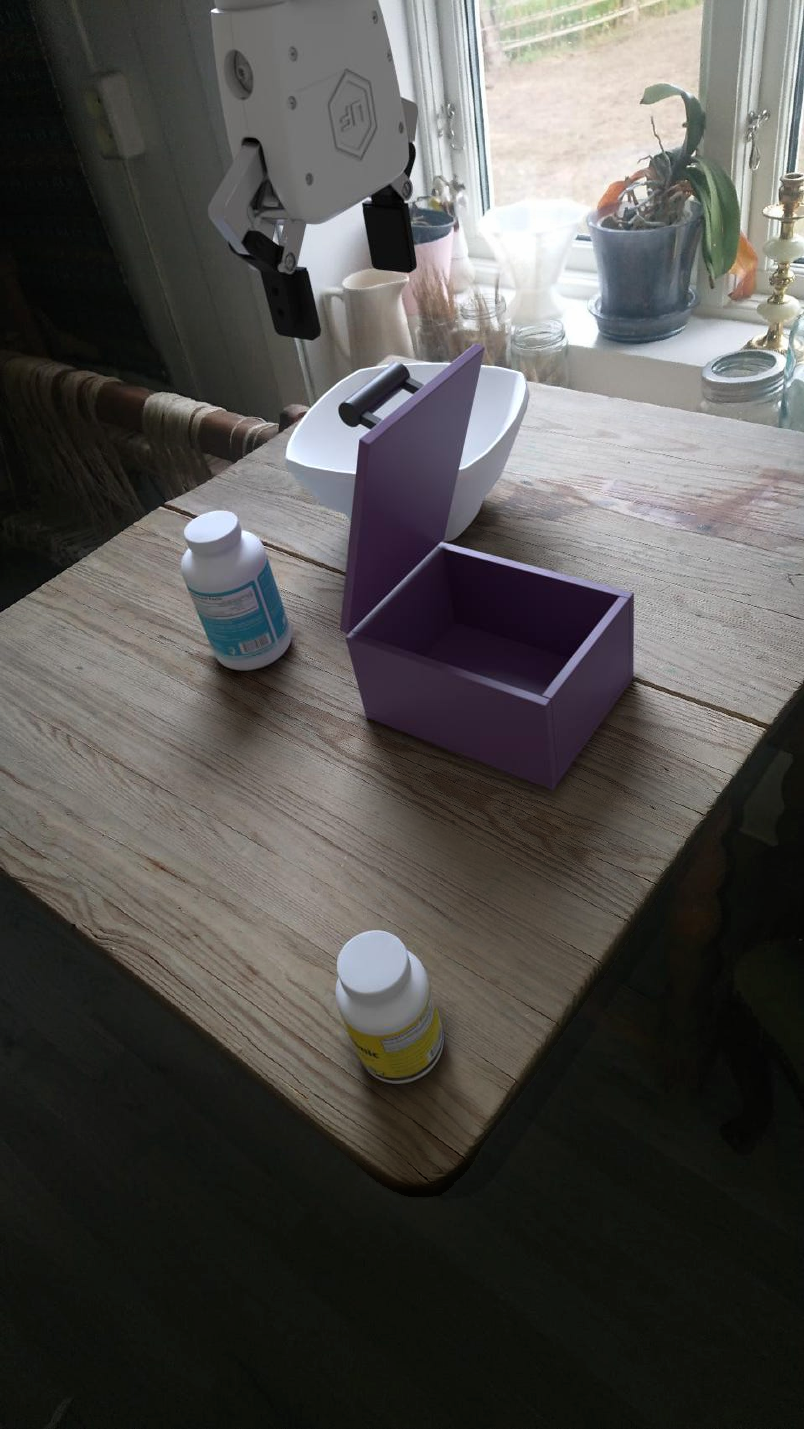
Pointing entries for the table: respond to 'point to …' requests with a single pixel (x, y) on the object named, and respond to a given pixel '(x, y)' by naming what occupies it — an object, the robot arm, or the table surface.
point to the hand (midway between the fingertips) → (348, 301)
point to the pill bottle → (234, 592)
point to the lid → (403, 476)
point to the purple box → (496, 660)
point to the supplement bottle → (388, 1007)
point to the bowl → (331, 446)
